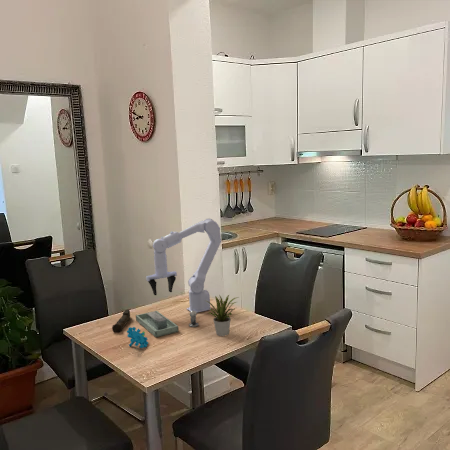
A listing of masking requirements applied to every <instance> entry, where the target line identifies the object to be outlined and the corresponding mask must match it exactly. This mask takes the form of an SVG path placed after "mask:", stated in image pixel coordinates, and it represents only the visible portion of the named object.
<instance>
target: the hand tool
mask: <svg viewBox="0 0 450 450" xmlns="http://www.w3.org/2000/svg"><path fill="white" fill-rule="evenodd" d="M130 320H131V311H130V309H125V310H124V311H123V313H122V315H121V317H120V318H119V319H118V320H117V321H116V322H115V323H114V324H113V325H112V326H111V327H112V329H111V330H112V332H113V333H114V334H115V333H116V334H117V333H122V331H123V328H124V327H125V325H126V324H127V323H128V321H129V322H130Z"/></svg>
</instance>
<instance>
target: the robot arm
mask: <svg viewBox="0 0 450 450" xmlns="http://www.w3.org/2000/svg"><path fill="white" fill-rule="evenodd" d="M196 233H206V235H207V236H208V239H209V242H208V244H207V246H206V249H205V251H204V252H203V253H204V254H203V256H202V257H201V260H200V262H199V264H198V266H197V268H196V270H195V271H194V272H193V274H192V276H190V277H189V278H188V281H187V283H188V286H189V290H188V298H189V303H188V304H189V307H187V308H186V310H188V311H189V312H191V311H193V310H194V311H196V313H197V314H198V313H201V312H207V311H209V310H210V309H212V308H211V304H210V303H211V296H210V292H209V290H207V289H204V288H205V281H206V276H207V274H208V272H209V269H210V267H211V265H212V263H213V261H214V259H215V257H216V256H215V255H217V251H218V250H219V248H220V245H221V243H222V236H221V227H220V225H219V224H218V223H217V222H216V221H215V220H214V219H212V218H205V219H204V220H200V221H198V222H196V223H194V224H192V225H190V226H188V227H187V228H184V229H183V230H181V231H170V232H169V234H167V235H165V236H160V238H157V239H154V241H153V243H152V247H153V255H154V256H153V261H154V273H153V274H149V275H146V276H145V281H147V282H148V284H149V285H150V288H151V290H152V294H153V295H154V296H157V295H158V294H157V293H158V291H157V283H158V282H157V281H156V280H160V279H164V278H166V279H167V285H168V287H167V288H168V292H169V293H172V292H173V286H174V284H175V282H176V279H177V278H176V277H177V276H178V274H177V273H178V272H177V271H176V270H175V271H174V270H173V271H168V259H167V257H168V256H167V253H166V252H167V249H170V248H172V247H175V246H176V245H178V244H180V243H181V242H182V240H183V239H184V238H187V237H189V236H192V235H194V234H196ZM207 301H208V302H210V303H208V302H207ZM209 308H210V309H209ZM210 311H211V310H210Z"/></svg>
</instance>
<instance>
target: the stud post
mask: <svg viewBox="0 0 450 450" xmlns="http://www.w3.org/2000/svg"><path fill="white" fill-rule="evenodd" d="M197 314H198V313H196V311H194V310H193V311H189V316H190V323H188V327H189V328H198V327H200V324H199V322H197Z"/></svg>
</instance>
